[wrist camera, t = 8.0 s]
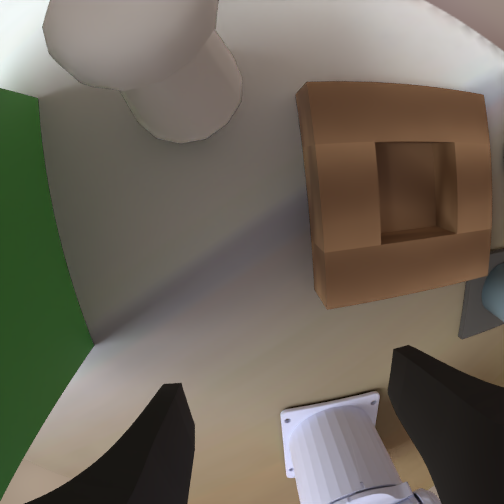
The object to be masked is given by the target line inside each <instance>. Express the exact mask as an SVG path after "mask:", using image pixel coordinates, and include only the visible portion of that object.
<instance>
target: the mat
mask: <svg viewBox="0 0 504 504" xmlns="http://www.w3.org/2000/svg"><path fill="white" fill-rule="evenodd" d="M501 263H504V249H499V250H494V251H490V258H489V268H488V275H489V274H490V272H491V271H492V270H493V269H494V268H495V267H496V266H497V265H499V264H501ZM487 277H488V276H484V277H480V278H476V279H472V280H468V281H466V287H465V295H464V303H463V310H462V316H461V323H460V328H459V334H458V337H460V338H461V339H465V338H468V337H470V336H473V335H476V334H479V333H481V332H484V331H487V330H489V329H492V328H495V327H497V326H500V325H502V324H504V322H503V321H502V320H500V319H499V318H498V317H496V316H495V315H494V314H492V313H491V312H490V311H488V310H487V309H486V308H485V307H484V306H483V303H482V290H483V286H484V283H485V281H486V279H487Z"/></svg>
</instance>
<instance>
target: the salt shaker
mask: <svg viewBox="0 0 504 504" xmlns="http://www.w3.org/2000/svg"><path fill="white" fill-rule="evenodd" d="M218 1H219V0H50V2H49V5H48V9H47V12H46V16H45V19H44V23H43V26H42V28H43V32H44V36H45V40H46V44H47V48H48V52H49V54H50V55H51V56H52V58H53V59H54V60H55V61H56V62H57V63H58V64H59V65H60V66H62V67H63V68H64V69H65V70H66V71H67V72H69V73H70V74H71V75H72V76H73V77H74V78H76V79H77V80H78V81H79V82H80V83H83V84H86V85H88V86H91V87H98V88H106V89H113V90H119V91H120V92H121V94H122V96H123V98H124V99H125V101H126V103H127V104H128V106H129V108H130V110H131V111H132V113H133V115H134V117H135V118H136V120H137V122H138V123H139V124H140V125H141V126H143V127H144V128H145V129H146V130H147V131H148V132H150V133H151V134H152V135H153V136H154V137H155V138H158V139H162V140H167V141H171V142H175V143H180V144H181V143H186V142H191V141H197V140H202V139H207V138H208V137H209V136H211V135H212V134H214V133H215V132H216V131H218V130H219V129H220V128H222V127H223V126H225V125H226V124H228V122H229V120H230V119H231V117H232V116H233V114H234V112H235V111H236V109H237V108H238V106H239V104H240V103H241V96H242V76H241V73H240V71H239V68H238V66H237V64H236V61H235V59H234V57H233V55H232V54H231V52H230V51H229V49H228V48H227V46H226V45H225V44H224V42H223V41H222V39H221V38H220V37H219V35H218V34H217V32H216V31H215V29H216V19H217V10H218Z"/></svg>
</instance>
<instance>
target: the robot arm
mask: <svg viewBox="0 0 504 504" xmlns="http://www.w3.org/2000/svg"><path fill="white" fill-rule="evenodd" d="M388 395H389V398H390V400H391V403H392V405H393V408H394V410H395V412H396V414H397V416H398V418H399V420H400V421H401V423H402V425H403V426H404V428H405V430H406V431H407V433H408V435H409V436H410V438H411V440H412V441H413V443H414V445H415V446H416V448H417V450H418V451H419V453H420V455H421V456H422V458H423V460H424V462H425V464H426V466H427V468H428V470H429V472H430V475H431V477H432V480H433V482H434V484H435V487H436V489H437V492H438V495H439V498H440V500H439V499H438V497H437V496H436V495H435V494H434V493H433V492H431V491H428V490H425V489H423V488H420V489H417V490H416V491H414V492H412V490H411V488H410V486H409V484H408V482H404V483H402V481H401V479H400V476H399V474H398V472H397V470H396V468H395V466H394V464H393V462H392V460H391V458H390V456H389V454H388V452H387V450H386V448H385V446H384V444H383V442H382V440H381V438H380V436H379V434H378V432H377V430H376V428H375V424H376V418H377V412H378V405H379V398H380V395H379V393H378V392H377V391H373V392H369V393H365V394H360V395H356V396H352V397H348V398H343V399H339V400H334V401H329V402H324V403H319V404H314V405H308V406H303V407H297V408H291V409H285V410H283V411H282V412H281V414H280V415H281V425H282V435H283V445H284V455H285V465H286V475H287V477H289V478H294V477H295V479H296V484H297V488H298V493H299V498H300V503H301V504H504V388H503V387H500V386H497V385H493V384H490V383H488V382H485V381H482V380H480V379H477V378H475V377H473V376H470V375H468V374H466V373H463V372H461V371H459V370H457V369H455V368H453V367H451V366H449V365H447V364H445V363H443V362H441V361H439V360H437V359H435V358H433V357H431V356H430V355H428V354H426V353H424V352H422V351H420V350H418V349H416V348H414V347H411V346H409V345H407V346H404V347H400V348H396V349H393V358H392V365H391V373H390V380H389V386H388ZM372 401H373V402H372ZM286 419H288V420H286ZM194 451H195V424H194V421H193V418H192V415H191V412H190V409H189V406H188V403H187V400H186V397H185V394H184V391H183V387H182V384H181V383H173V384H163V385H162V387H161V388H160V389H159V390H158V392H157V393H156V394H155V396H154V397H153V398H152V400H151V401H150V402H149V404H148V405H147V406H146V408H145V409H144V410H143V412H142V413H141V414H140V415H139V417H138V418H137V419H136V420H135V422H134V423H133V424H132V425H131V426H130V428H129V429H128V430H127V431H126V432H125V433H124V434H123V435H122V437H121V438H120V439H119V440H118V441H117V442H116V443H115V444H114V445H113V446H112V447H111V448H110V449H109V450H108V451H107V452H106V453H105V454H104V455H103V456H102V457H100V458H99V459H98V460H97V461H96V462H95V463H93V464H92V465H91V466H90V467H88V468H87V469H86V470H84V471H83V472H81V473H80V474H79V475H77V476H76V477H74V478H73V479H72V480H70V481H69V482H67V483H65V484H64V485H62V486H60V487H59V488H57V489H55V490H53V491H52V492H49V493H48V494H46V495H43V496H41V497H39V498H37V499H34V500H32V501H30V502H27V503H25V504H187V502H188V494H189V487H190V480H191V473H192V466H193V458H194Z"/></svg>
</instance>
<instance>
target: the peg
mask: <svg viewBox="0 0 504 504" xmlns="http://www.w3.org/2000/svg"><path fill="white" fill-rule="evenodd" d="M482 303H483V306H484V307H485V308H486V309H487V310H488V311H490V312H491V313H492V314H494V315H495V316H496V317H498V318H499V319H500V320H502V321H503V322H504V263H501V264H499V265H497V266H496V267H495V268H494V269H493V270H492V271H491V272H490V274H489V275H488V277H487V279H486V281H485V283H484V286H483V290H482Z"/></svg>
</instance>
